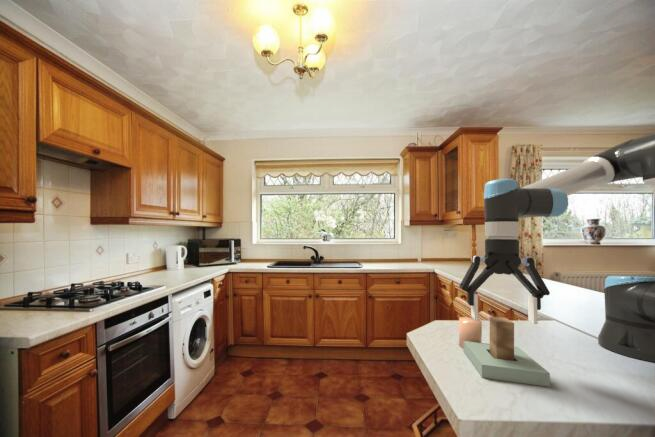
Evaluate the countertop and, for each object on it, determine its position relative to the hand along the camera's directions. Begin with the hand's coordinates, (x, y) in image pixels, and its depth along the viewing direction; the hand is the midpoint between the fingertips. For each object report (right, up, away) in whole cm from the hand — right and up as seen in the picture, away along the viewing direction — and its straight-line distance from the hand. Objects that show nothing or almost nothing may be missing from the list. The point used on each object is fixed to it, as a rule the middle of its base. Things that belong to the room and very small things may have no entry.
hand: (503, 320), depth 68 cm
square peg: (-1, -12, -1) cm, 12 cm away
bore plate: (-1, -12, -1) cm, 12 cm away
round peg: (-3, -12, +11) cm, 17 cm away
